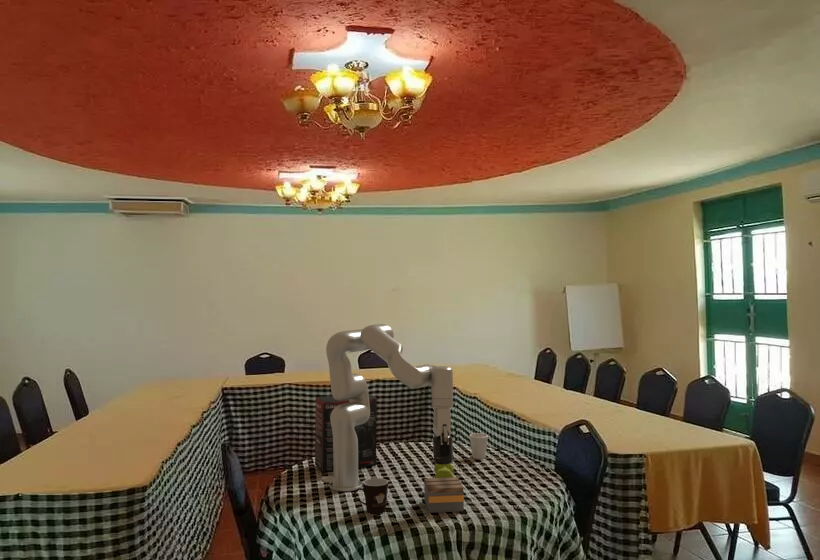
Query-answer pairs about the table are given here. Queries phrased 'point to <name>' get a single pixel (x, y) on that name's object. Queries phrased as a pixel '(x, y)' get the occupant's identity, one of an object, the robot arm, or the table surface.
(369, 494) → the coffee mug
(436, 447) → the supplement bottle
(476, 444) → the dixie cup
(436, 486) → the pallet
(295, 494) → the table surface
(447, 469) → the dumbbell
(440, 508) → the dock
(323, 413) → the headset box
